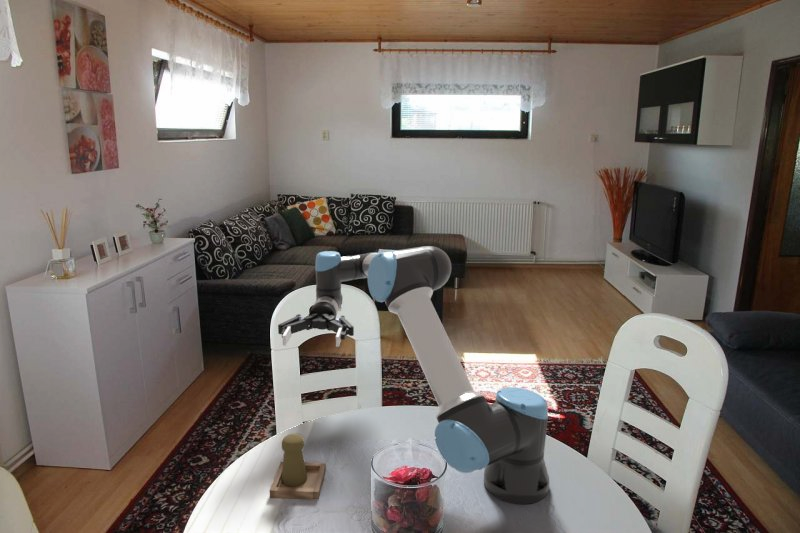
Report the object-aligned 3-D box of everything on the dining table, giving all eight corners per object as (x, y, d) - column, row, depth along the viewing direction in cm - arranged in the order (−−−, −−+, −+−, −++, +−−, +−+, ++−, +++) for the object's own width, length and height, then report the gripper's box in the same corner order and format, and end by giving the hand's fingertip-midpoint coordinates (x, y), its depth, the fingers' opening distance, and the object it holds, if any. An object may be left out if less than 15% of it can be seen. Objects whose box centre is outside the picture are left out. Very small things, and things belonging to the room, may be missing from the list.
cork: (311, 472, 136) (309, 431, 133) (302, 488, 130) (300, 445, 127) (287, 469, 137) (285, 428, 134) (277, 485, 131) (275, 442, 129)
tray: (326, 470, 138) (325, 462, 138) (318, 499, 128) (318, 491, 127) (281, 468, 139) (280, 461, 138) (269, 498, 128) (269, 490, 128)
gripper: (366, 326, 166) (359, 355, 145) (281, 324, 166) (262, 353, 146) (366, 301, 164) (359, 328, 143) (280, 300, 165) (261, 326, 144)
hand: (310, 341), depth 145 cm, fingers open, 13 cm apart
